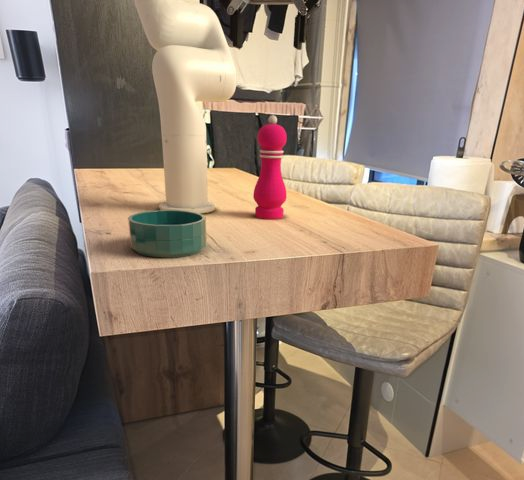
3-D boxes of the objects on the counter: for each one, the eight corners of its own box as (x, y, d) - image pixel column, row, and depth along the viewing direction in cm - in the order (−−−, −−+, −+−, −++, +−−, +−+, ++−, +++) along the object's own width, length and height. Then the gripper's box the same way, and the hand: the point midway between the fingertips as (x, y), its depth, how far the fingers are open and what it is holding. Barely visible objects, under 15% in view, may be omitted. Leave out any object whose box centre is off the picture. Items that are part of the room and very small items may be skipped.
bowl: (127, 241, 78) (124, 211, 76) (197, 237, 82) (196, 208, 80) (136, 261, 68) (132, 227, 66) (214, 255, 72) (214, 223, 70)
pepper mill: (266, 211, 105) (270, 115, 96) (291, 216, 101) (297, 116, 92) (246, 216, 100) (247, 114, 91) (271, 221, 96) (276, 115, 87)
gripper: (339, -93, 64) (325, 52, 72) (222, -88, 67) (222, 49, 76) (332, -116, 57) (318, 46, 66) (204, -109, 61) (206, 44, 69)
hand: (267, 48), depth 71 cm, fingers open, 9 cm apart
